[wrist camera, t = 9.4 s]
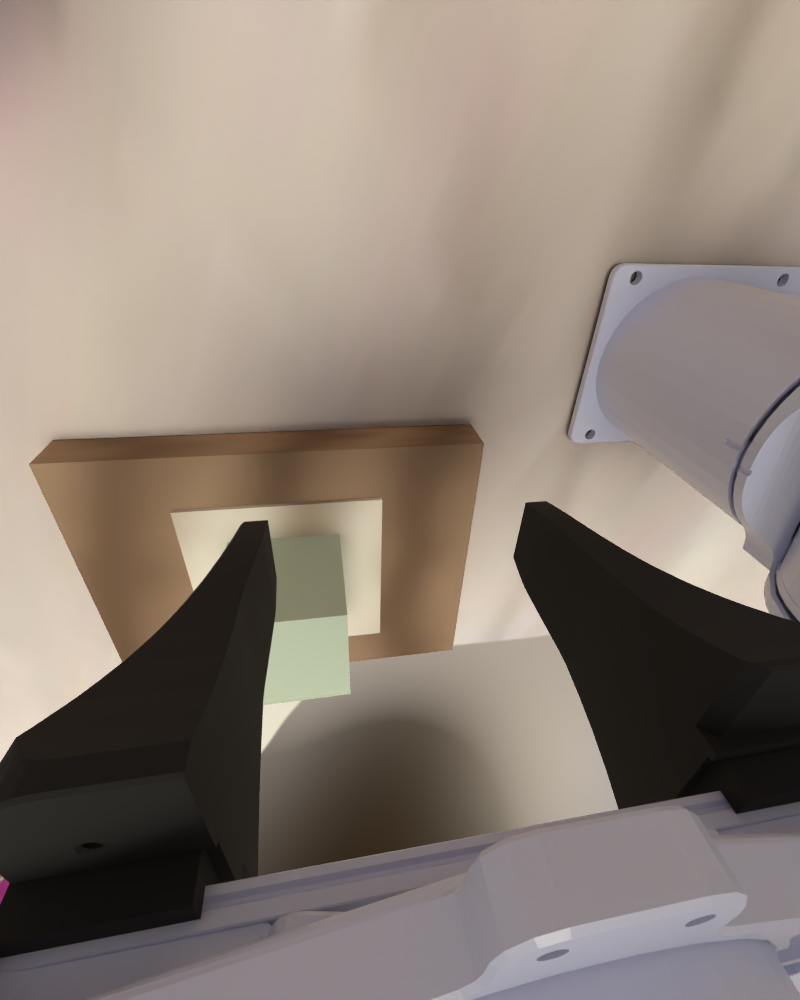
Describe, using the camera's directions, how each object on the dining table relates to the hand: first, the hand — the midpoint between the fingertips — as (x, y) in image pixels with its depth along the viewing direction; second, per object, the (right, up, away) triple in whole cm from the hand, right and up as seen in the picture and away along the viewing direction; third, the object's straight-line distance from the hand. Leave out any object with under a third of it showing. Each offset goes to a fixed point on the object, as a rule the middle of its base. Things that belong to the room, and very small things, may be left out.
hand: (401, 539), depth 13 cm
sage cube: (-5, -3, +10) cm, 11 cm away
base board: (-6, -2, +11) cm, 13 cm away
